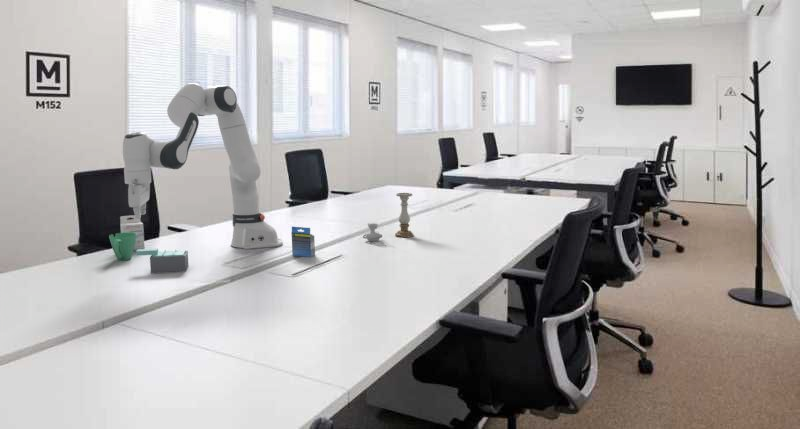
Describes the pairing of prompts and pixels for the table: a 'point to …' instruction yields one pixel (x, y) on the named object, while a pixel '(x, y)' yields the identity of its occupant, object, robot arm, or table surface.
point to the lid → (161, 253)
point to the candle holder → (404, 216)
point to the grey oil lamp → (372, 233)
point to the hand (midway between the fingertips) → (140, 216)
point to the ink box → (133, 230)
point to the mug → (123, 245)
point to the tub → (169, 264)
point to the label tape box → (302, 242)
